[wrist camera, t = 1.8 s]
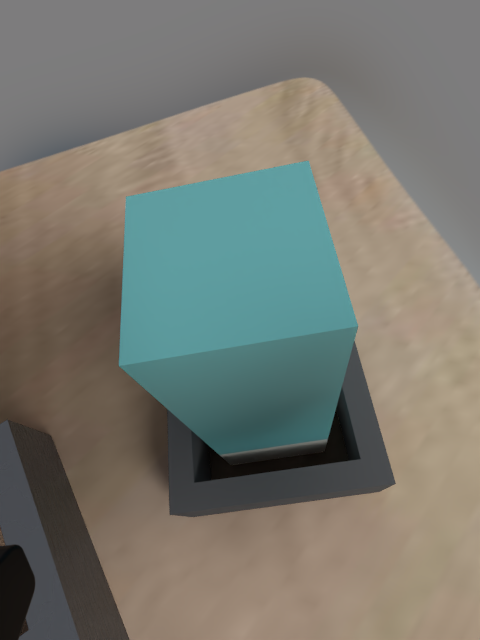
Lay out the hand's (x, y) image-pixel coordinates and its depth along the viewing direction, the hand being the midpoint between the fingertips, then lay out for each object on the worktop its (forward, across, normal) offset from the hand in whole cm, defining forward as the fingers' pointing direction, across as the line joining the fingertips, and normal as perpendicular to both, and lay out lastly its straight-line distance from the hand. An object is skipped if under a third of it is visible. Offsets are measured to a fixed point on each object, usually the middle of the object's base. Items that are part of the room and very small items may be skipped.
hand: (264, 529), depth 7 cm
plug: (+12, 0, +5) cm, 13 cm away
